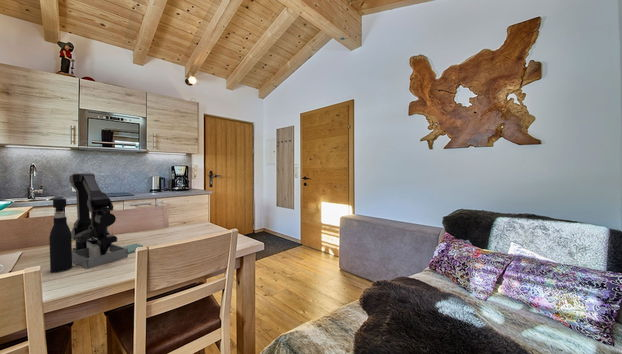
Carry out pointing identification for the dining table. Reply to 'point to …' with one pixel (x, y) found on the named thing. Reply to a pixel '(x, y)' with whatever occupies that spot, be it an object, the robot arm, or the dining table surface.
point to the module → (95, 251)
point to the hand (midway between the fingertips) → (100, 255)
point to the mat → (132, 247)
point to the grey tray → (80, 256)
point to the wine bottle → (60, 240)
